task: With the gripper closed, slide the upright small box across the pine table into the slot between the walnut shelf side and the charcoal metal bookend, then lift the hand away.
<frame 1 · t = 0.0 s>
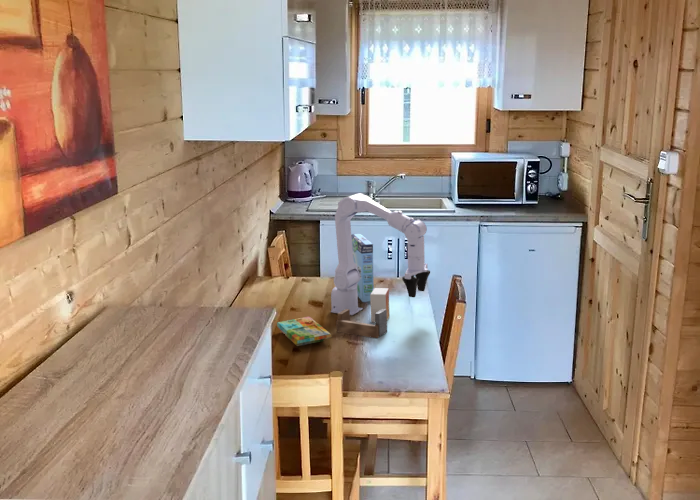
hand: (416, 293, 245), 10 cm above the table, tool pointing down, fingers open, 7 cm apart
bookend: (381, 322, 236), on the table
puzzle game: (303, 339, 236), on the table
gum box: (362, 295, 280), on the table
walnut shelf corner: (362, 330, 240), on the table
small box: (380, 319, 251), on the table
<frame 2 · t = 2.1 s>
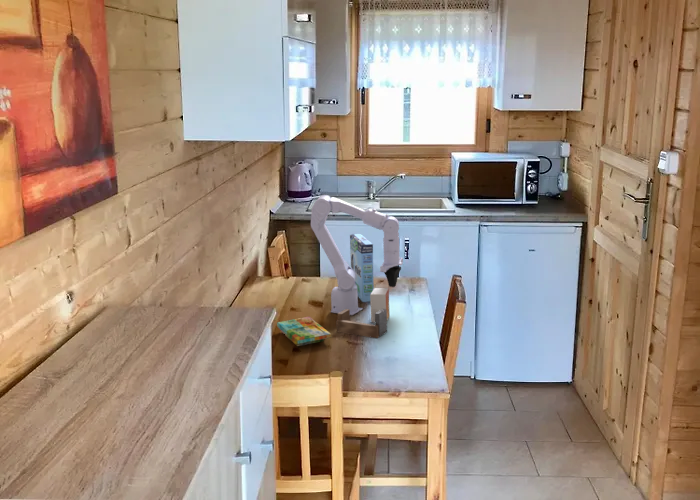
hand: (392, 286, 257), 9 cm above the table, tool pointing down, fingers closed
nothing on the table moved.
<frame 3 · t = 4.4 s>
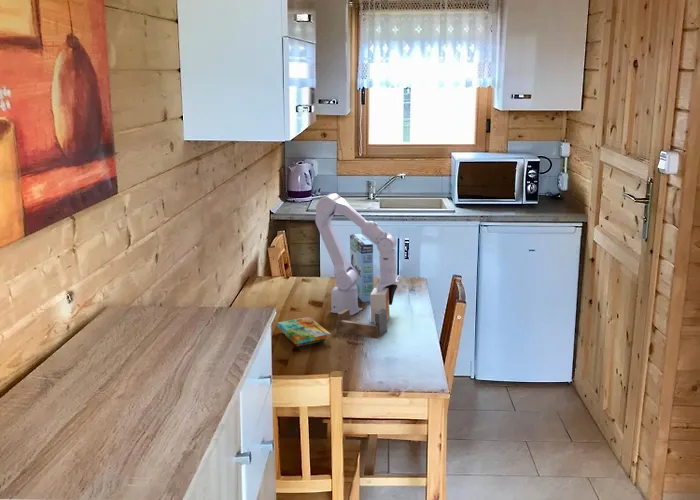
hand: (388, 304, 256), 3 cm above the table, tool pointing down, fingers closed
small box: (380, 319, 251), on the table, touching gripper
everything else where it was.
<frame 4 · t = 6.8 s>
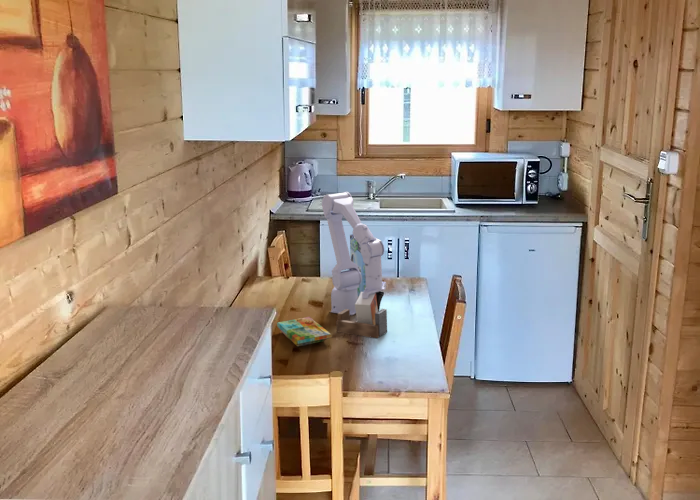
hand: (375, 312, 246), 4 cm above the table, tool pointing down, fingers closed, pressing on small box
small box: (368, 323, 245), point 1 cm above the table, touching gripper
everything else where it was.
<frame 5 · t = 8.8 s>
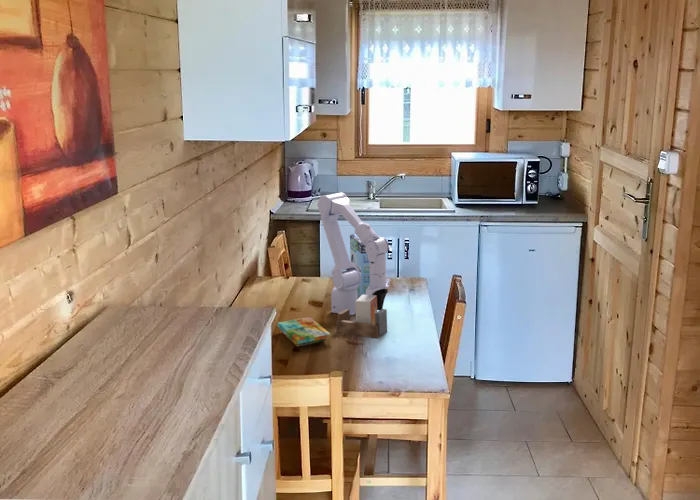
hand: (378, 309, 249), 4 cm above the table, tool pointing down, fingers closed
small box: (367, 327, 244), on the table
everything else where it was.
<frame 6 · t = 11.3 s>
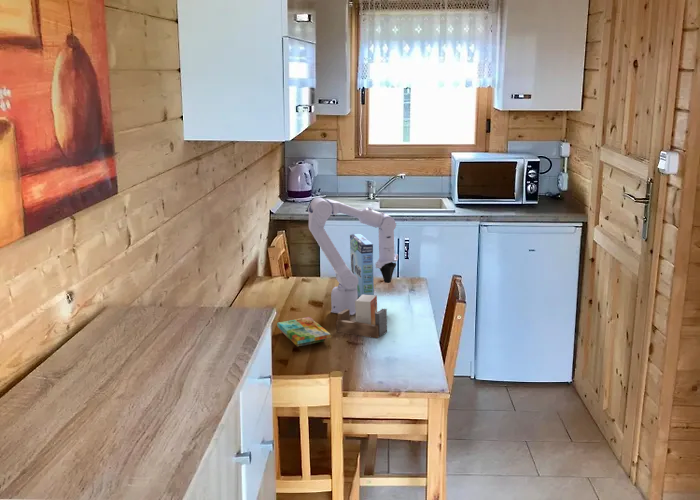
hand: (387, 282, 263), 9 cm above the table, tool pointing down, fingers closed
nothing on the table moved.
at the end: small box inside the target area (2.6 cm from its centre), on the table; small box tilted 0° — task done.
